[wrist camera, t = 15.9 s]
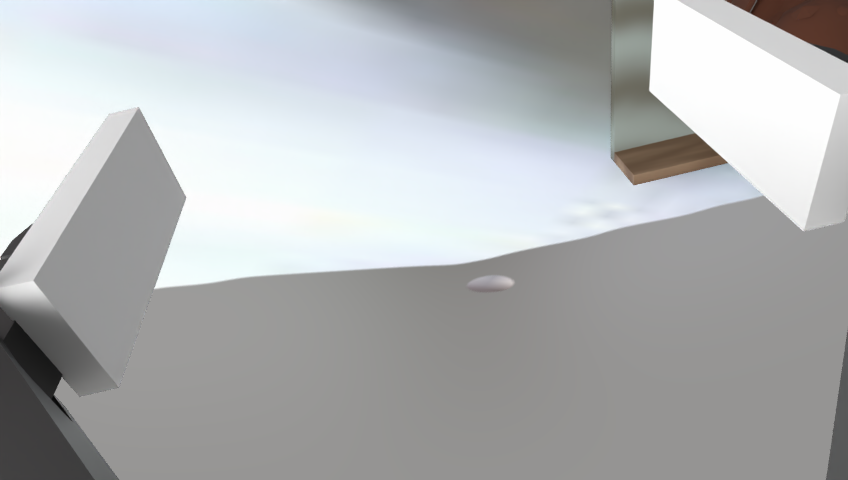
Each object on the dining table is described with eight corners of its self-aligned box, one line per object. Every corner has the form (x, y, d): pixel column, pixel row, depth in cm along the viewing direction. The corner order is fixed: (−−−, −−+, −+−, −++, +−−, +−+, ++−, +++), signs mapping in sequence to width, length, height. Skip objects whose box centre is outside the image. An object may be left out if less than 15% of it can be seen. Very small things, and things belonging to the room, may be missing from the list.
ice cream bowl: (668, 90, 50) (776, 179, 38) (651, -41, 44) (776, 16, 32) (791, 40, 49) (942, 115, 37) (793, -102, 43) (977, -67, 31)
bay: (612, -147, 40) (644, -142, 36) (855, -205, 40) (915, -207, 36) (610, 157, 54) (633, 185, 50) (789, 115, 54) (826, 139, 50)
